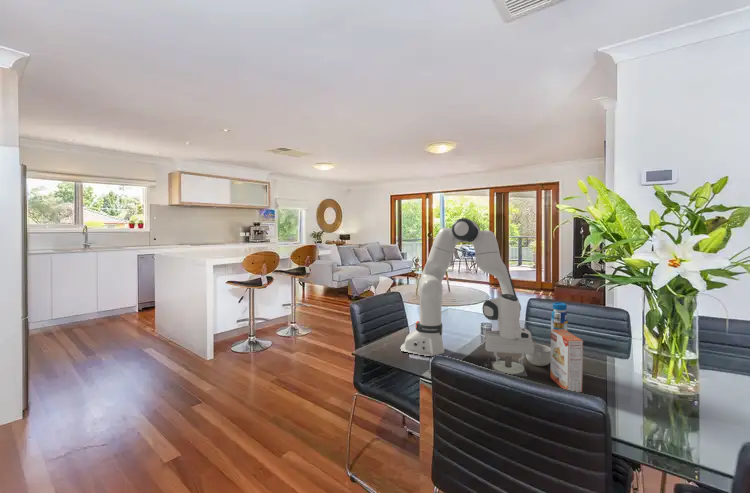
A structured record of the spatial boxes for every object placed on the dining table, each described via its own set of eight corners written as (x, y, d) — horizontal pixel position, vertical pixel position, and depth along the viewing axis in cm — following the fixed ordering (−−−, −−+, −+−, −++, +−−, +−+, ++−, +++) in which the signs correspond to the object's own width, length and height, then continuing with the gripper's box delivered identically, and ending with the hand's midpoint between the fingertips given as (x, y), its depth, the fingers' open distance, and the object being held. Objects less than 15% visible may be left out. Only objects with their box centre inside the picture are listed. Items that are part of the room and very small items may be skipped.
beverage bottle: (547, 337, 198) (547, 302, 197) (561, 336, 199) (562, 301, 198) (556, 342, 190) (557, 305, 189) (571, 341, 191) (572, 305, 190)
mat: (492, 373, 151) (492, 372, 151) (490, 361, 164) (490, 360, 164) (527, 377, 147) (527, 376, 147) (523, 364, 161) (523, 363, 161)
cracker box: (549, 378, 146) (550, 328, 145) (563, 378, 146) (564, 328, 145) (566, 394, 132) (567, 339, 131) (582, 394, 132) (584, 339, 131)
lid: (493, 372, 151) (493, 360, 151) (491, 361, 164) (492, 350, 163) (526, 375, 148) (526, 363, 148) (521, 363, 160) (522, 352, 160)
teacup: (528, 357, 169) (529, 341, 168) (553, 362, 162) (554, 345, 162) (521, 367, 157) (522, 349, 157) (548, 373, 151) (548, 354, 151)
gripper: (484, 332, 155) (485, 363, 156) (535, 335, 150) (535, 366, 150) (484, 328, 161) (484, 357, 162) (532, 330, 156) (532, 361, 156)
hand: (509, 362), depth 156 cm, fingers open, 8 cm apart
